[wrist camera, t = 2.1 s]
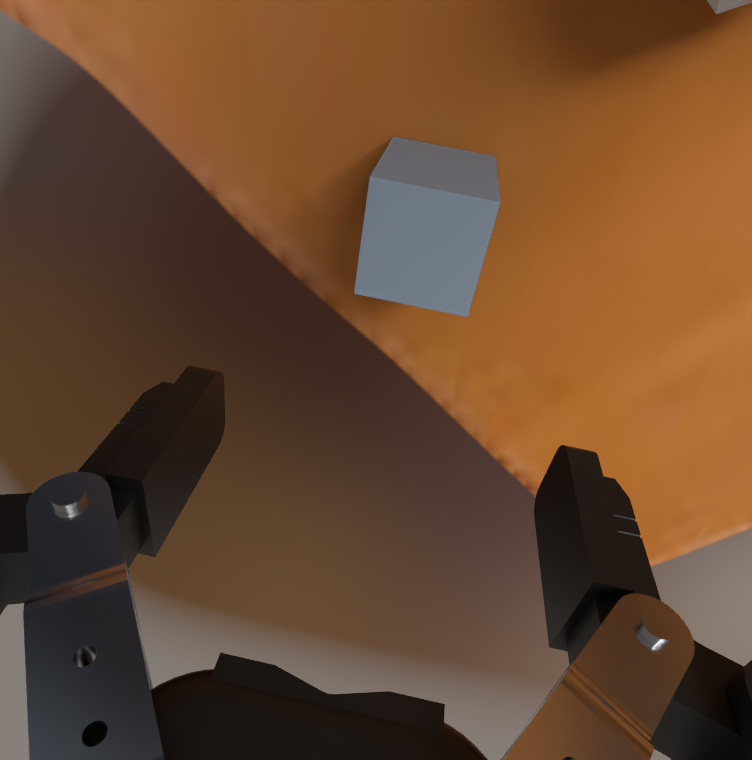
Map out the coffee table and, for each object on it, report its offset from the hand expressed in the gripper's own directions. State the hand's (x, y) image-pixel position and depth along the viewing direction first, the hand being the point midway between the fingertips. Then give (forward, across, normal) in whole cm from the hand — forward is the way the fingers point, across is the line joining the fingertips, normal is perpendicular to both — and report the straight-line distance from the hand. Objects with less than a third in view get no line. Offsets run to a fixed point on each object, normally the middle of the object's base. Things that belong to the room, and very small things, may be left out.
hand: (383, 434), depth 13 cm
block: (+18, 0, 0) cm, 18 cm away
